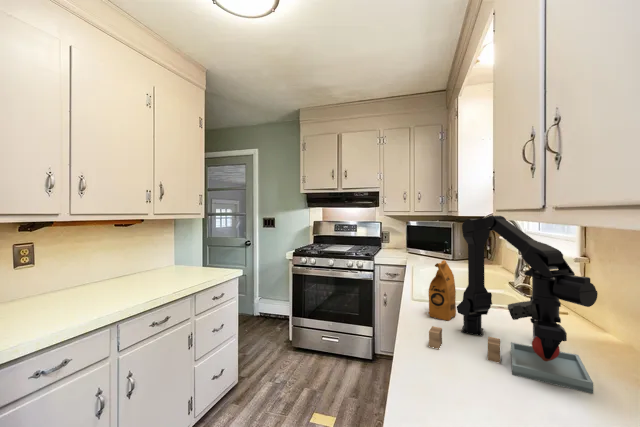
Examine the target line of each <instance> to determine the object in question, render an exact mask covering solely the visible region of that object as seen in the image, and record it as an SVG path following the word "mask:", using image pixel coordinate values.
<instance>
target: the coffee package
mask: <svg viewBox="0 0 640 427" xmlns="http://www.w3.org/2000/svg"><path fill="white" fill-rule="evenodd" d="M434 267H435V268H437V269H438V270H436V273H435V276H434V277H433V278H432V279H431V282H430V284H429V287H428V314H429V317H431V318H435V319H437V318H438V319H439V320H443V321H449V322H450V320H451V319H452V318H456V315H457V304H456V302H457V301H456V296H457V295H456V294H457V291H456V290H457V289H456V283H455V275H454V273H453V271H452V269H451V268H450V266H449V264H448V263H447V260H446V259H442V260H441V262H438V263H437V262H436V263H435V264H434Z"/></svg>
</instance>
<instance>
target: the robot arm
mask: <svg viewBox="0 0 640 427" xmlns="http://www.w3.org/2000/svg"><path fill="white" fill-rule="evenodd" d="M461 229H462V230H461V231H462V237H463V238H464V240H465V242H466V244H467V267H468V268H467V274H468V278H467V279H468V280H467V286H466V288H465V290H464V291H463V294H462V295H463V296H462V301H461V302H459V304H458V305H456V312H457V314H459V315H461V316H463V319H462V320H463V323H462V324H463V325H462V328H461V330H460V331H461V333H464V334H470V335H475V336H481V337H482V336H483V335H484V328H483V327H482V326H483V325H482V323H483V322H482V316H483V315H484V316H485V315H488V313H489V310H490V309H491V306H492V305H493V301H492V297H493V294H492V292H488V289H486V287H485V244H487V242H488V239H489V237H490V233H491V232H492V231H494V232H495V233H497V235H498V236H500V237H502V238H503V239H504V241H506V242H507V243H509V244H510V245H511V246H513V247H514V248H516V249H517V251H519V253H520V254H521V257H522V259H523V260H524V262H525V263H526V264H527V265H528V266H529V267H530V268H529V269H528V270H526V271H524V273H523V274H524V275H525V276H528V277H531V278H532V279H531V280H532V281H531V282H532V283H531V285H532V286H531V288H532V289H531V290H532V291H531V293H532V294H531V296H530V297H529V300H527V301H526V300H525V301H519V302H512V303H509V304H507V310H508V312H509V315H510V317H511V319H512V321H513V320H515V321H517V320H520V319H525V318H529V320H530V322H531V324H532V333H533V332H534V335H535V336H537V337H539V338H540V339H541V344H542V348H543V352H544V357H545V358H546V359H550V358H551V357H552V355H553V354H554V352H555V350H556V349H557V347H558V346H559V347H560V344H561V343H562V342H567V338H568V337H567V332H566V329H565V327H563V326H562V325H561V323H562V319H561V317H560V308H561V307H562V306H561V304H562V303H561V301H564V302H567V303H571V304H575V305H578V306H582V307H587V308H590V307H592V306H593V305H595V303H596V302H597V299H598V295H599V294H598V290H597V289H596V286H595V285H594V283H592V282H591V277H589V276H579V275H576V273H575V272H574V270H573V269H572V268H571V266H570V265H569V264H568V263H567V261H566V259H565V258H564V254H563V252H562V251H561V250H559V249H558V248H555V247H554V246H552V245H549V244H547V243H543V242H541V241H537V240H536V239H534V238H532V237H531V236H529V235H528V234H526V233H525V232H524V231H522V230H521V229H520V228H518V227H517V226H516V225H515V224H513V223H511V222H510V221H509V220H507V218H505V216H502V215H489V216H487V217H483V218H468V219H466V220H464V221H463V223H462V225H461ZM560 300H561V301H560Z"/></svg>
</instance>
